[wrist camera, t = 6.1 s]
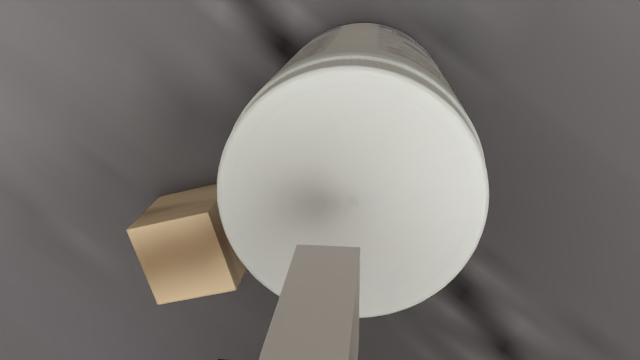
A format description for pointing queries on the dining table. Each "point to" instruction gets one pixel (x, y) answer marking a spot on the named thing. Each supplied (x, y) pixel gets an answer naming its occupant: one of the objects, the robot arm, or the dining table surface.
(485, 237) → the dining table surface
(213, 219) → the oak block
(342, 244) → the supplement tub
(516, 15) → the dining table surface
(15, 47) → the dining table surface
